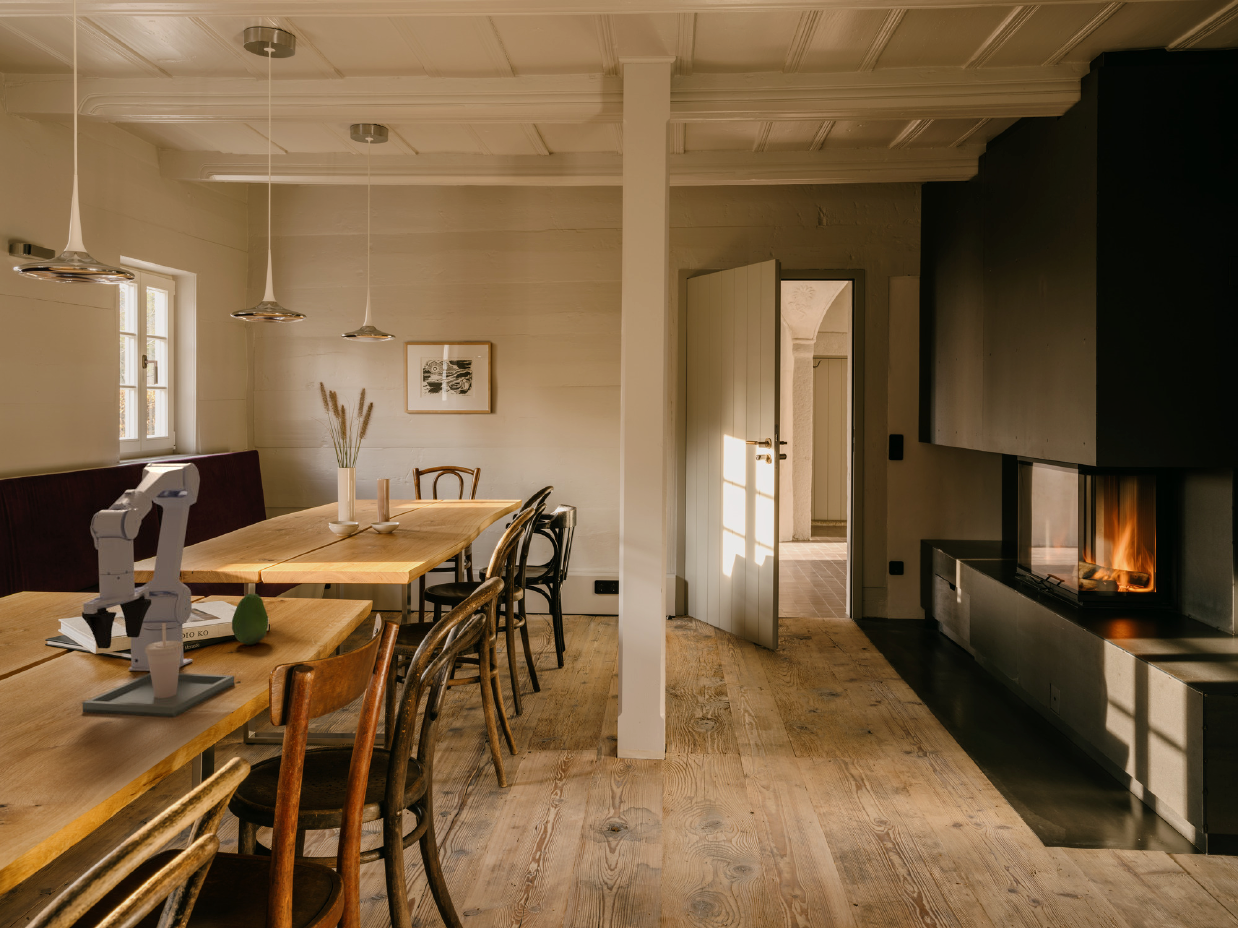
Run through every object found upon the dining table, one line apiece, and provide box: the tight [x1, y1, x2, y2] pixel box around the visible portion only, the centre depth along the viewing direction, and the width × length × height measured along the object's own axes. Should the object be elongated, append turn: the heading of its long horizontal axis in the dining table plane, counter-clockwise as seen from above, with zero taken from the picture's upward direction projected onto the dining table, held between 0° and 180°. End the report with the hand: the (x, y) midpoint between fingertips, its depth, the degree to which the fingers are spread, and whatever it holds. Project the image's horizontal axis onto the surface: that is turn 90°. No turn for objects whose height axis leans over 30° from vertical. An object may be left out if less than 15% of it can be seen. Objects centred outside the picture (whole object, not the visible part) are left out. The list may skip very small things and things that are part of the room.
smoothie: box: [145, 623, 184, 698], centre depth 154 cm, size 6×6×14 cm
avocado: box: [231, 593, 269, 646], centre depth 192 cm, size 8×8×12 cm
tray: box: [82, 672, 235, 718], centre depth 155 cm, size 18×18×2 cm
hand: (118, 642), depth 155 cm, fingers open, 7 cm apart
